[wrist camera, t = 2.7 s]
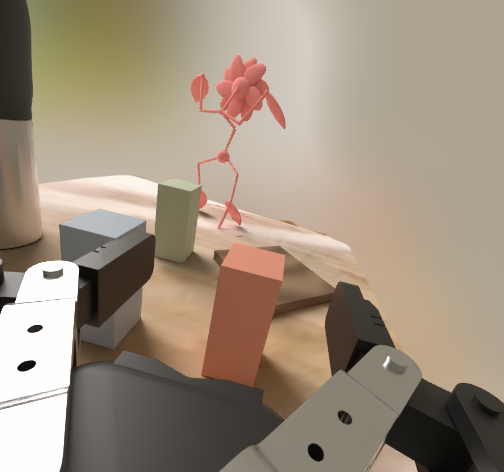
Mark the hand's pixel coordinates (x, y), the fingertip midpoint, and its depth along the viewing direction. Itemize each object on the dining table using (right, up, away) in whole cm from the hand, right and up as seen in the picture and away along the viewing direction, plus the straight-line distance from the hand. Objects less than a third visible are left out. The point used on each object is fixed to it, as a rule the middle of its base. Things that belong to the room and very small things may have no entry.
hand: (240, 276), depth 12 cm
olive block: (-13, -1, +35) cm, 38 cm away
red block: (-1, -11, +17) cm, 20 cm away
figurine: (-7, +6, +58) cm, 58 cm away
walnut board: (+4, -5, +34) cm, 35 cm away
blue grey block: (-15, -8, +18) cm, 25 cm away
